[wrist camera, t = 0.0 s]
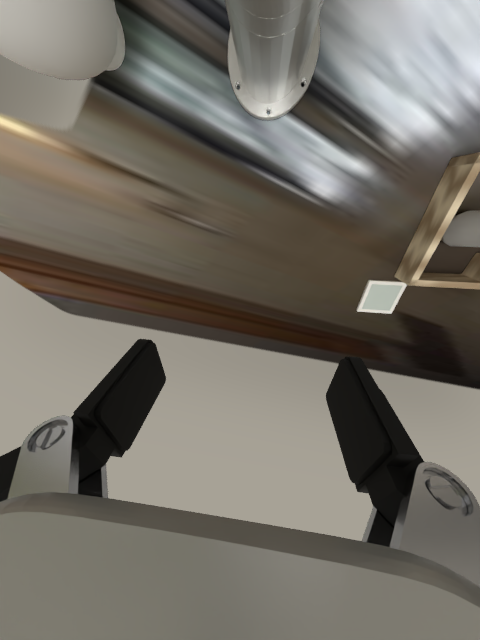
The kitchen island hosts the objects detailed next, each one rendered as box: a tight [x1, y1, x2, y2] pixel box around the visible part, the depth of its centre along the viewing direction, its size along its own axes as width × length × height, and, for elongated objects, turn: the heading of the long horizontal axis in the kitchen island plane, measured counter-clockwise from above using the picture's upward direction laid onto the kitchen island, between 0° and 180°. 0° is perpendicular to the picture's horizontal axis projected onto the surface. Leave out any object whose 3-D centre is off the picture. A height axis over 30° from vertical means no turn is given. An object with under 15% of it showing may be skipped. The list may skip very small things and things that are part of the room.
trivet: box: [356, 280, 407, 314], centre depth 44 cm, size 8×8×1 cm
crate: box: [394, 152, 480, 289], centre depth 33 cm, size 20×14×5 cm
